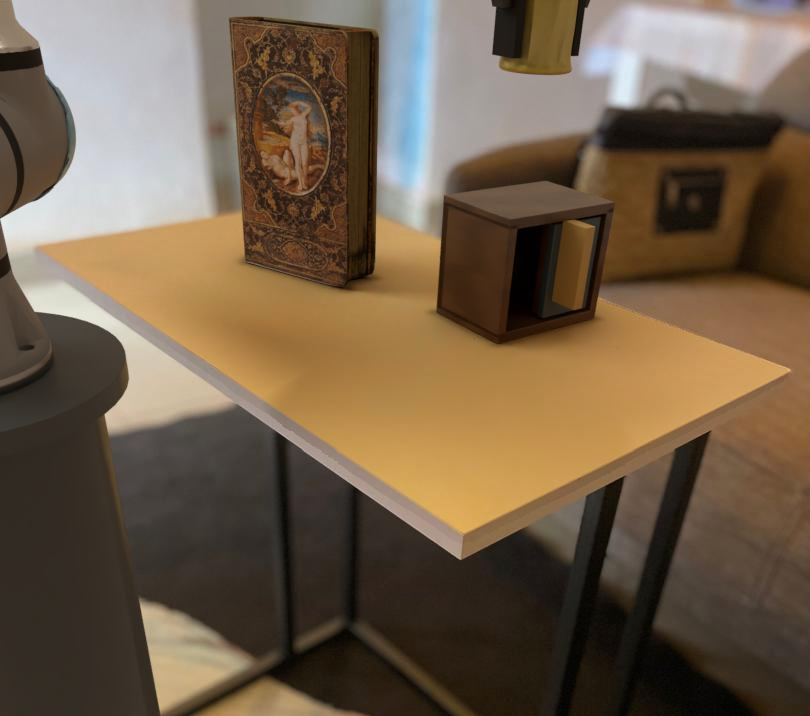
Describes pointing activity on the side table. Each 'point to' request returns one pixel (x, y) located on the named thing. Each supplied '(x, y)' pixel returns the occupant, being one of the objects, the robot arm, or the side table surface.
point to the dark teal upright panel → (568, 265)
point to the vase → (545, 39)
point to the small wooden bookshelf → (510, 256)
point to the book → (307, 145)
